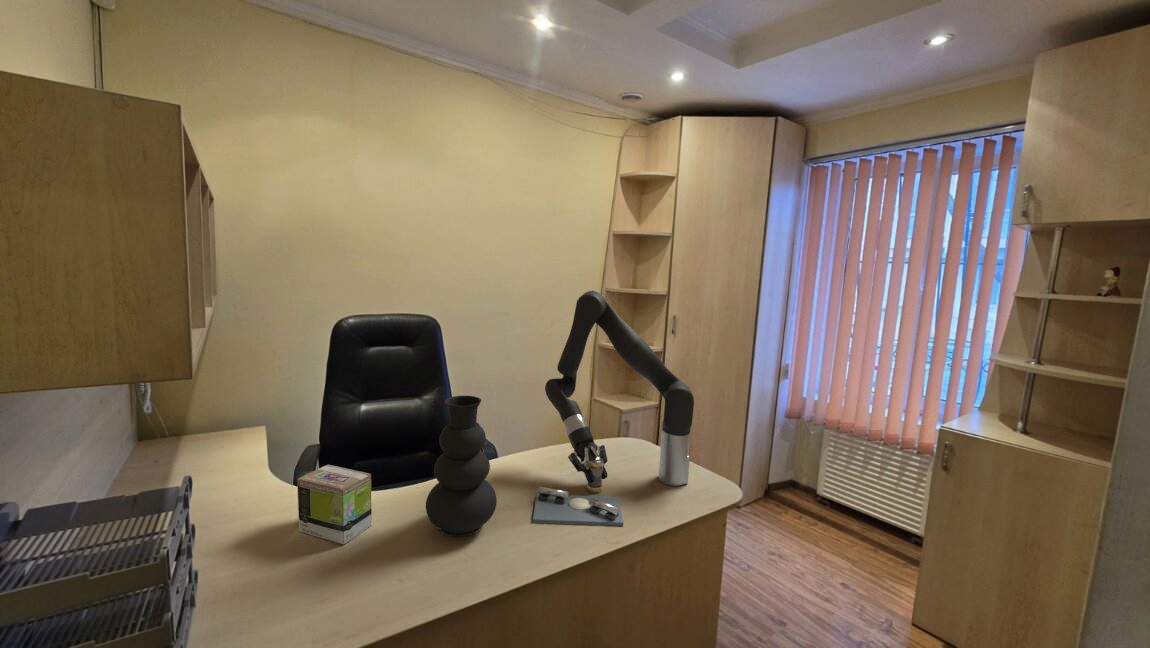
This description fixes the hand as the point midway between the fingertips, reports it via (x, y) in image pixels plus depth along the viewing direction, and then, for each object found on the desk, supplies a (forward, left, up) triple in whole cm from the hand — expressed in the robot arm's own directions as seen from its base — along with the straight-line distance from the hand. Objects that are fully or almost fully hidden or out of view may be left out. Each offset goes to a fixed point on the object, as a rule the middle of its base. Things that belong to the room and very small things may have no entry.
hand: (598, 479), depth 147 cm
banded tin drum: (+1, -2, -4) cm, 5 cm away
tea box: (+70, +24, -4) cm, 74 cm away
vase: (+38, +21, -4) cm, 44 cm away
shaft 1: (+14, +7, -4) cm, 16 cm away
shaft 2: (-1, +14, -4) cm, 15 cm away
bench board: (+7, +11, -4) cm, 14 cm away
